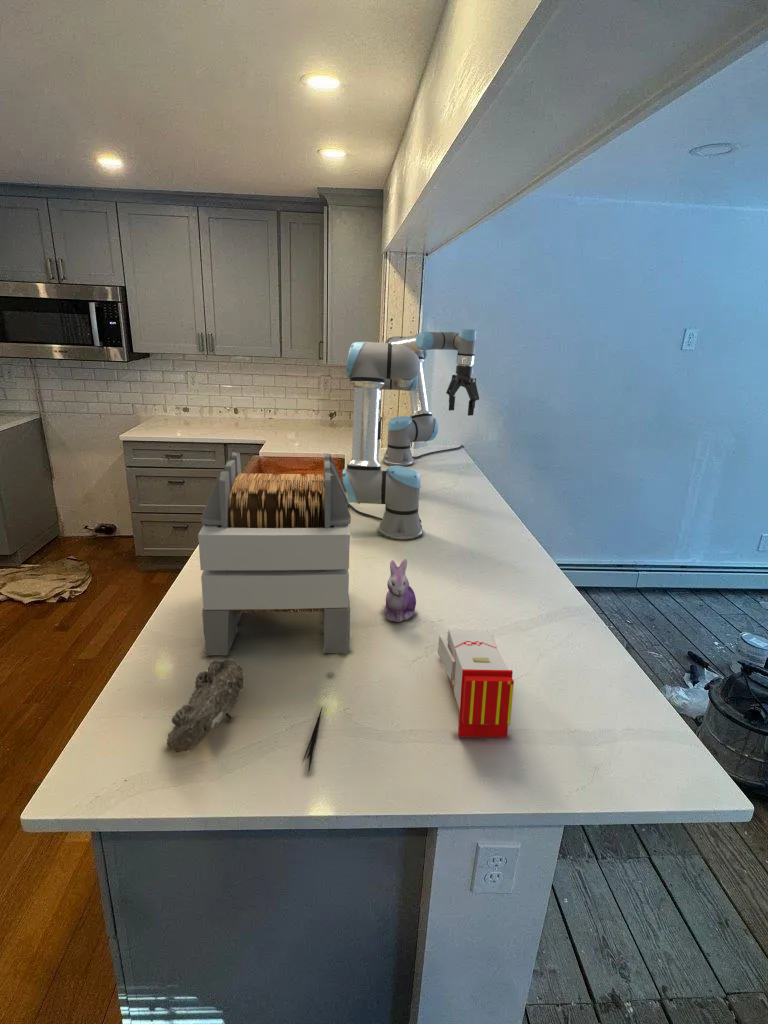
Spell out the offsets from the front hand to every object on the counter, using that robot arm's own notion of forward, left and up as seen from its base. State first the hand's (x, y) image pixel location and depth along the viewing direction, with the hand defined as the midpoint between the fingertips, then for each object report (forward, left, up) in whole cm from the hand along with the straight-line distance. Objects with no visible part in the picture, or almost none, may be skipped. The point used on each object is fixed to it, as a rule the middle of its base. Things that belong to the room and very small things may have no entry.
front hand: (370, 453), depth 249 cm
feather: (+114, -105, -14) cm, 155 cm away
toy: (+126, -75, -14) cm, 147 cm away
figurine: (+93, -66, -14) cm, 115 cm away
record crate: (+77, -91, -14) cm, 120 cm away
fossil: (+101, -121, -14) cm, 158 cm away
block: (0, 0, -4) cm, 4 cm away
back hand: (+14, +42, +17) cm, 47 cm away
